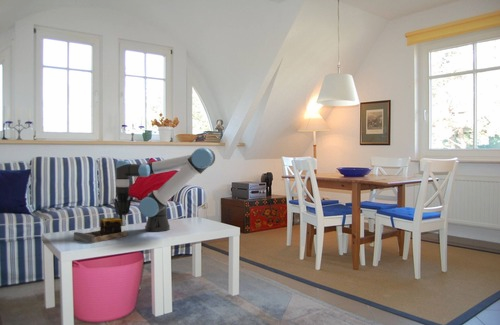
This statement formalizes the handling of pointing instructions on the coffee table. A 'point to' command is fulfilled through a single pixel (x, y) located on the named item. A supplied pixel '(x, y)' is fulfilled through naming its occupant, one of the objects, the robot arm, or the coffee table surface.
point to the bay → (91, 239)
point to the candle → (110, 226)
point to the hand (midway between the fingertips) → (122, 225)
